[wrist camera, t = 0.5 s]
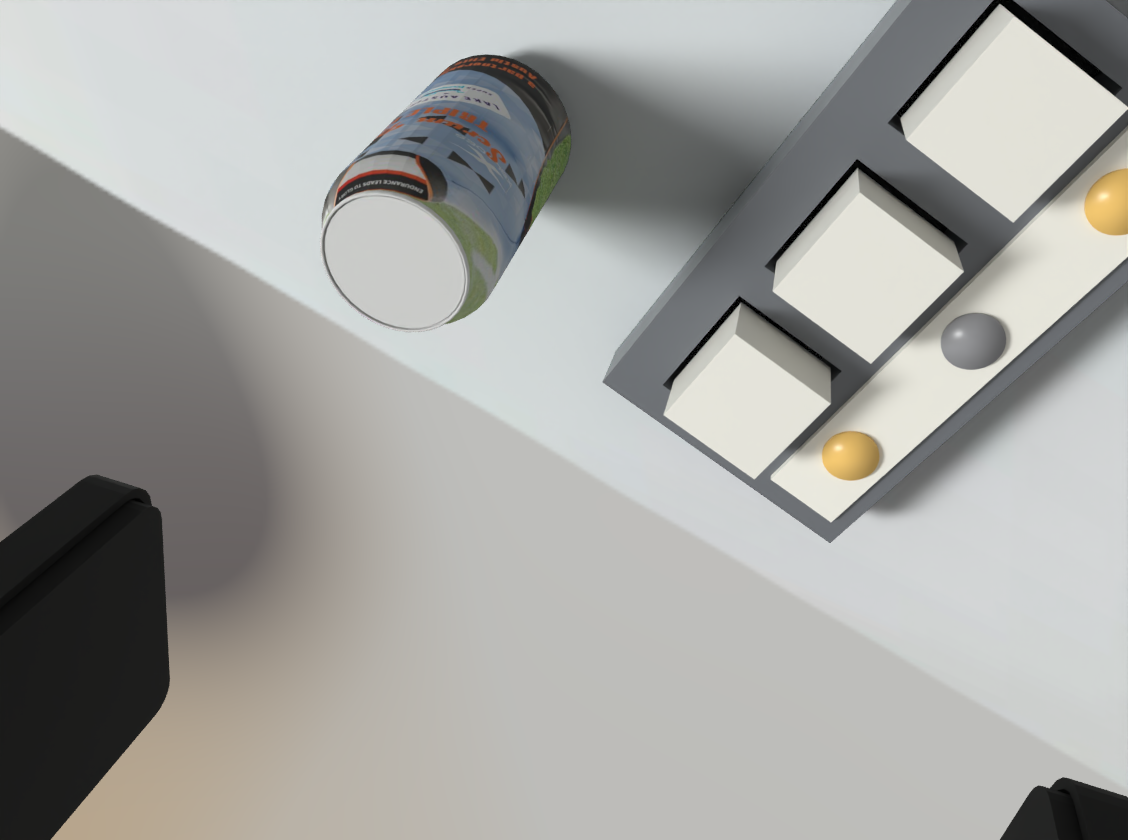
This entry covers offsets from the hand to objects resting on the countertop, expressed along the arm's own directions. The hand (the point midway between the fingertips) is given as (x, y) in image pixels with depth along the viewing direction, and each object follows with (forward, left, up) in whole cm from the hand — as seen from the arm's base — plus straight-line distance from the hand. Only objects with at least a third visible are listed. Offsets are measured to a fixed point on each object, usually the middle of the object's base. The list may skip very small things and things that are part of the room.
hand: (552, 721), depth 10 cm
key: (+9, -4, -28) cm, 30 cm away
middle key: (+6, +2, -28) cm, 29 cm away
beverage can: (-3, -10, -31) cm, 33 cm away
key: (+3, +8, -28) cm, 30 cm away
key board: (+7, +3, -31) cm, 32 cm away
